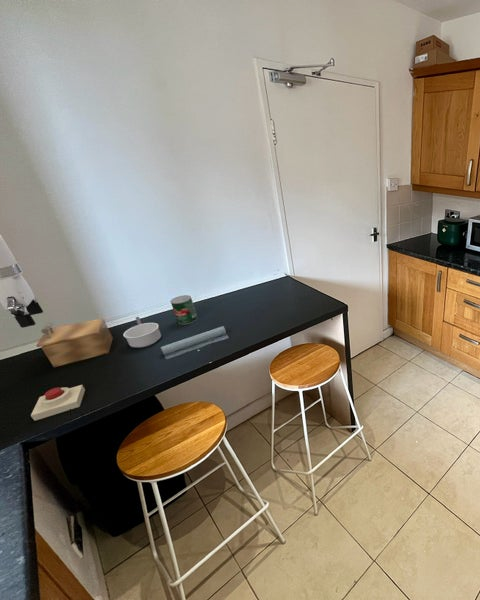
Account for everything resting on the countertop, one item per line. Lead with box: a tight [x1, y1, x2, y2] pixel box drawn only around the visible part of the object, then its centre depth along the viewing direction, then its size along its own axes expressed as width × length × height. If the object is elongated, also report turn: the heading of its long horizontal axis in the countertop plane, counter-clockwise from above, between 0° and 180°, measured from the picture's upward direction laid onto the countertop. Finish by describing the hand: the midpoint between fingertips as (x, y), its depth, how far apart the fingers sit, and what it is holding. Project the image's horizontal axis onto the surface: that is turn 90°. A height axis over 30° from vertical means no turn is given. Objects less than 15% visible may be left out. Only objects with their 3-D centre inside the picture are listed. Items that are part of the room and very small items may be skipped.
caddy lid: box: [36, 317, 105, 348], centre depth 117 cm, size 16×13×5 cm
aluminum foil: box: [160, 325, 230, 360], centre depth 126 cm, size 23×7×3 cm, turn 133°
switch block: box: [30, 384, 86, 421], centre depth 97 cm, size 10×9×4 cm
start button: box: [44, 387, 64, 400], centre depth 96 cm, size 4×4×2 cm
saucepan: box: [123, 316, 162, 348], centre depth 130 cm, size 12×20×6 cm, turn 42°
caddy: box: [41, 320, 114, 368], centre depth 121 cm, size 16×13×9 cm
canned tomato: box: [169, 294, 199, 326], centre depth 142 cm, size 8×8×11 cm
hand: (33, 319), depth 103 cm, fingers open, 9 cm apart
